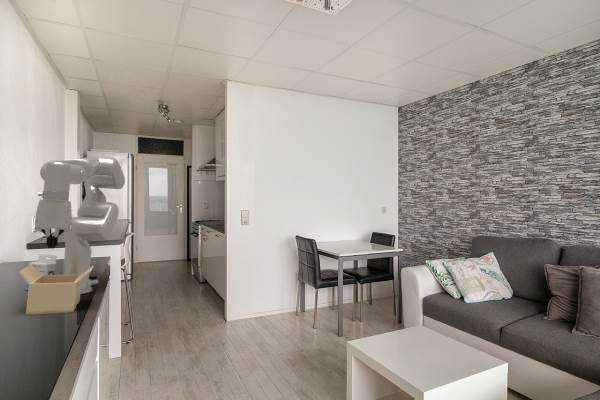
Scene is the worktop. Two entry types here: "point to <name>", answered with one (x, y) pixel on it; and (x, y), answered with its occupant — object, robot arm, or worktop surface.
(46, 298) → the carton
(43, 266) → the ink box
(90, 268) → the flap
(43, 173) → the robot arm
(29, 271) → the flap
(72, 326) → the worktop surface
